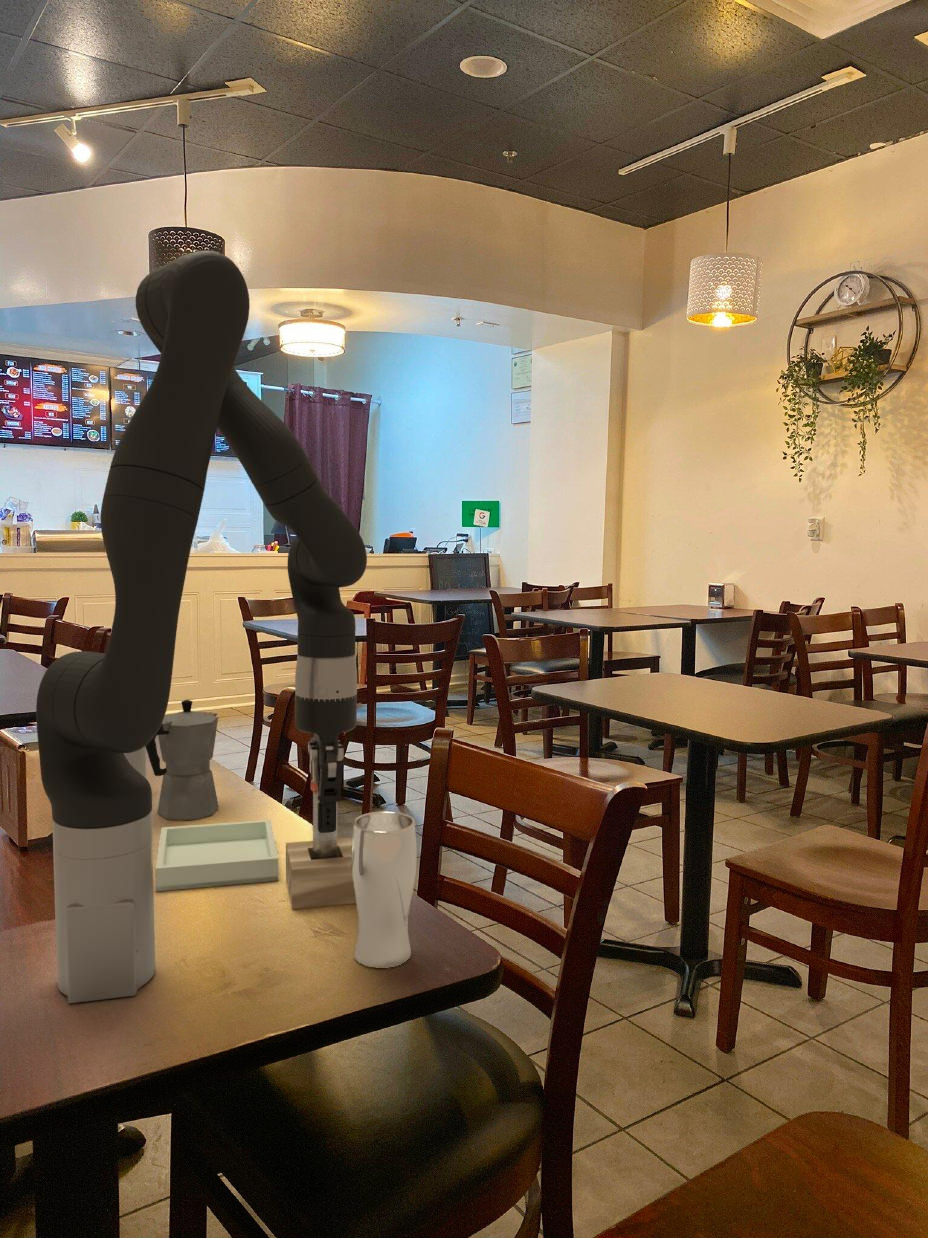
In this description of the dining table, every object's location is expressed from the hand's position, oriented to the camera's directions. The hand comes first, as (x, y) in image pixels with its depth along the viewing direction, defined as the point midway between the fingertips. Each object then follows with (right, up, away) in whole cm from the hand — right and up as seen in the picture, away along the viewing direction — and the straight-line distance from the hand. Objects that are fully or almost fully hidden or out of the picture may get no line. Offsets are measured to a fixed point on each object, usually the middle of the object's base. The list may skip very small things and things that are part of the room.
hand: (325, 826), depth 111 cm
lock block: (0, -8, +1) cm, 9 cm away
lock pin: (0, -6, +1) cm, 6 cm away
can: (-39, -4, +36) cm, 54 cm away
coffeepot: (-27, -5, +29) cm, 40 cm away
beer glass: (+9, -11, -15) cm, 20 cm away
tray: (-16, -7, +9) cm, 20 cm away
